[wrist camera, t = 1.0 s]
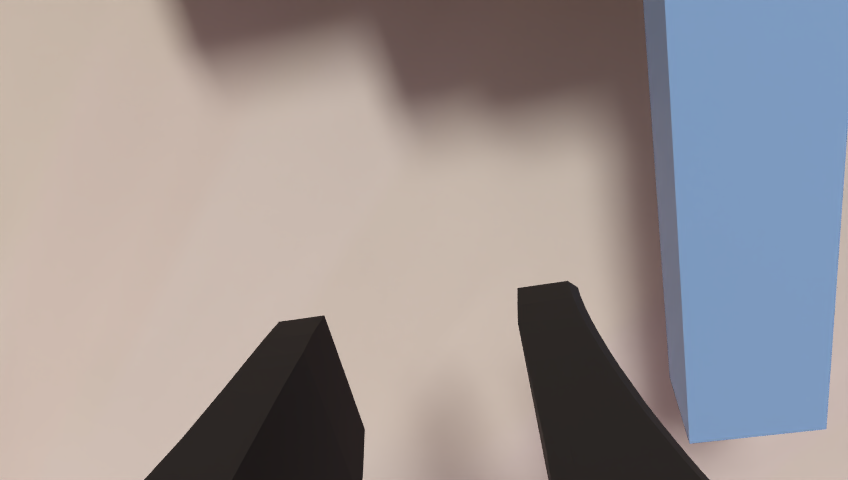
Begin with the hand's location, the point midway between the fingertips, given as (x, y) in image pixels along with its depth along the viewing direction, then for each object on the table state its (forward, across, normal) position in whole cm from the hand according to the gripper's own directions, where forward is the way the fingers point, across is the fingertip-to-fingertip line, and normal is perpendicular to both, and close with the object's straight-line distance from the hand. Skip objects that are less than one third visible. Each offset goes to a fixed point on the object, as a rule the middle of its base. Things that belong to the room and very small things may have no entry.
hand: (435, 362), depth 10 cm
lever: (+5, -5, -2) cm, 7 cm away
